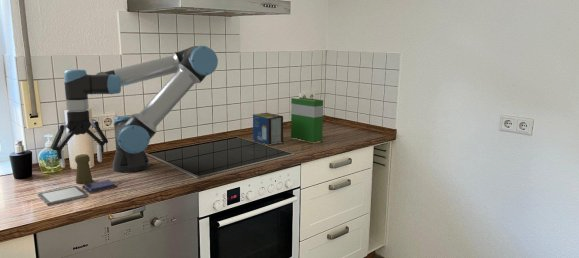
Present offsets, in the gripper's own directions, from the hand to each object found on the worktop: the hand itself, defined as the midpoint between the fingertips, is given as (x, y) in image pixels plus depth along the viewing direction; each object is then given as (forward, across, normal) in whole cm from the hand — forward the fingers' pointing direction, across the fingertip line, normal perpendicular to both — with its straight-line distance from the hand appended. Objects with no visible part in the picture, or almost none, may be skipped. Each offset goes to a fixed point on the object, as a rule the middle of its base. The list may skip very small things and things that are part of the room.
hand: (81, 164), depth 163 cm
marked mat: (+7, +11, +12) cm, 17 cm away
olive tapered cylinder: (+8, 0, 0) cm, 8 cm away
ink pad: (+7, -2, +11) cm, 13 cm away
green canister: (+6, -119, +7) cm, 120 cm away
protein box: (+6, -100, -5) cm, 101 cm away
